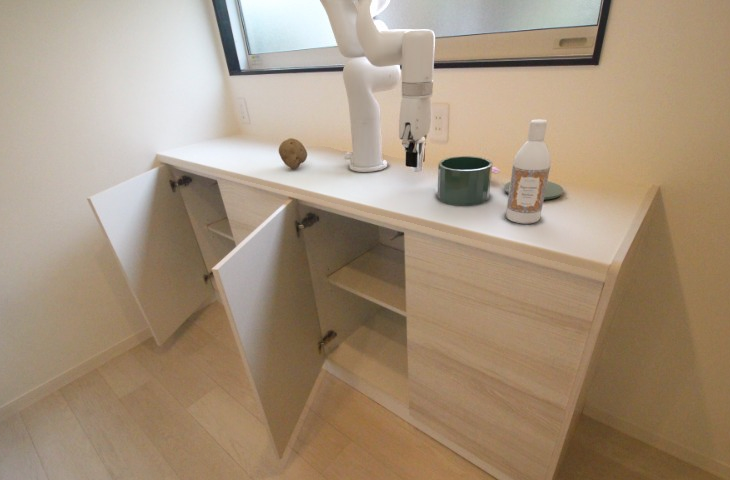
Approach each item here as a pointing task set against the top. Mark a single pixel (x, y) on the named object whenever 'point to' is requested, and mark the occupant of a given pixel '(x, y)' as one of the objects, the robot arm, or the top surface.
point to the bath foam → (529, 177)
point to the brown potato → (292, 153)
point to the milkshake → (419, 154)
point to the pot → (464, 180)
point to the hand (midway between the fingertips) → (415, 163)
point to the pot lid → (550, 192)
